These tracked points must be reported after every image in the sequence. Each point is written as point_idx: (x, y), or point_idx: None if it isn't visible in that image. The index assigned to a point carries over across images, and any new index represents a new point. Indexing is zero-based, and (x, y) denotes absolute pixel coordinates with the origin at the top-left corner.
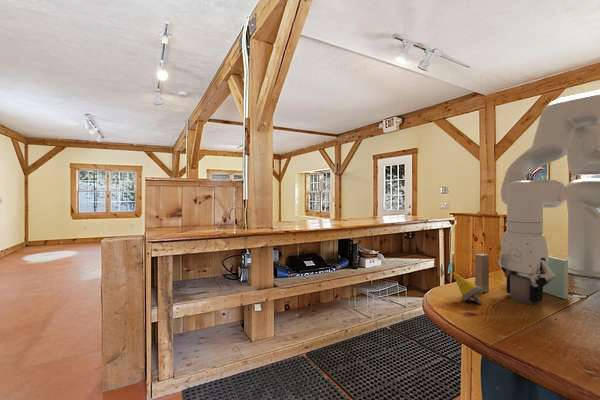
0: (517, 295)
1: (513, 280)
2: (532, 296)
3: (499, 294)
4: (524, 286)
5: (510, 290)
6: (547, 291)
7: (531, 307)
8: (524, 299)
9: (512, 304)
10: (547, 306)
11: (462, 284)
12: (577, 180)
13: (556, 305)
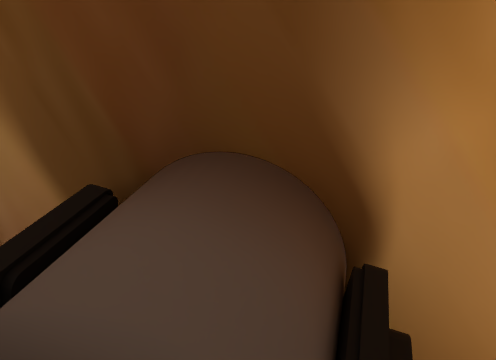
0: (194, 178)
1: (172, 290)
2: (58, 209)
3: (448, 211)
4: (65, 257)
5: (292, 230)
6: None
7: (75, 111)
8: (150, 181)
9: (180, 21)
10: None
11: None
12: None
13: None
